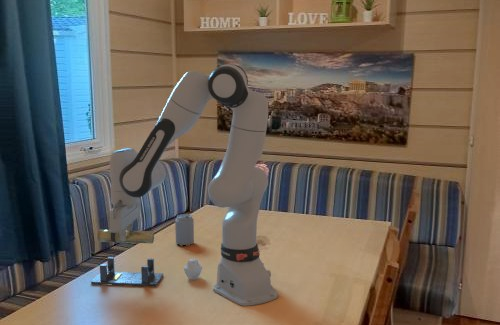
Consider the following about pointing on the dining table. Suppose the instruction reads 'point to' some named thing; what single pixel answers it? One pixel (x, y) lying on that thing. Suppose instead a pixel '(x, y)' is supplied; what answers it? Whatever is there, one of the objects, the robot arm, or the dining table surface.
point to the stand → (128, 275)
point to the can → (184, 229)
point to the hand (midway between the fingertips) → (126, 237)
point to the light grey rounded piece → (193, 269)
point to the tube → (131, 236)
